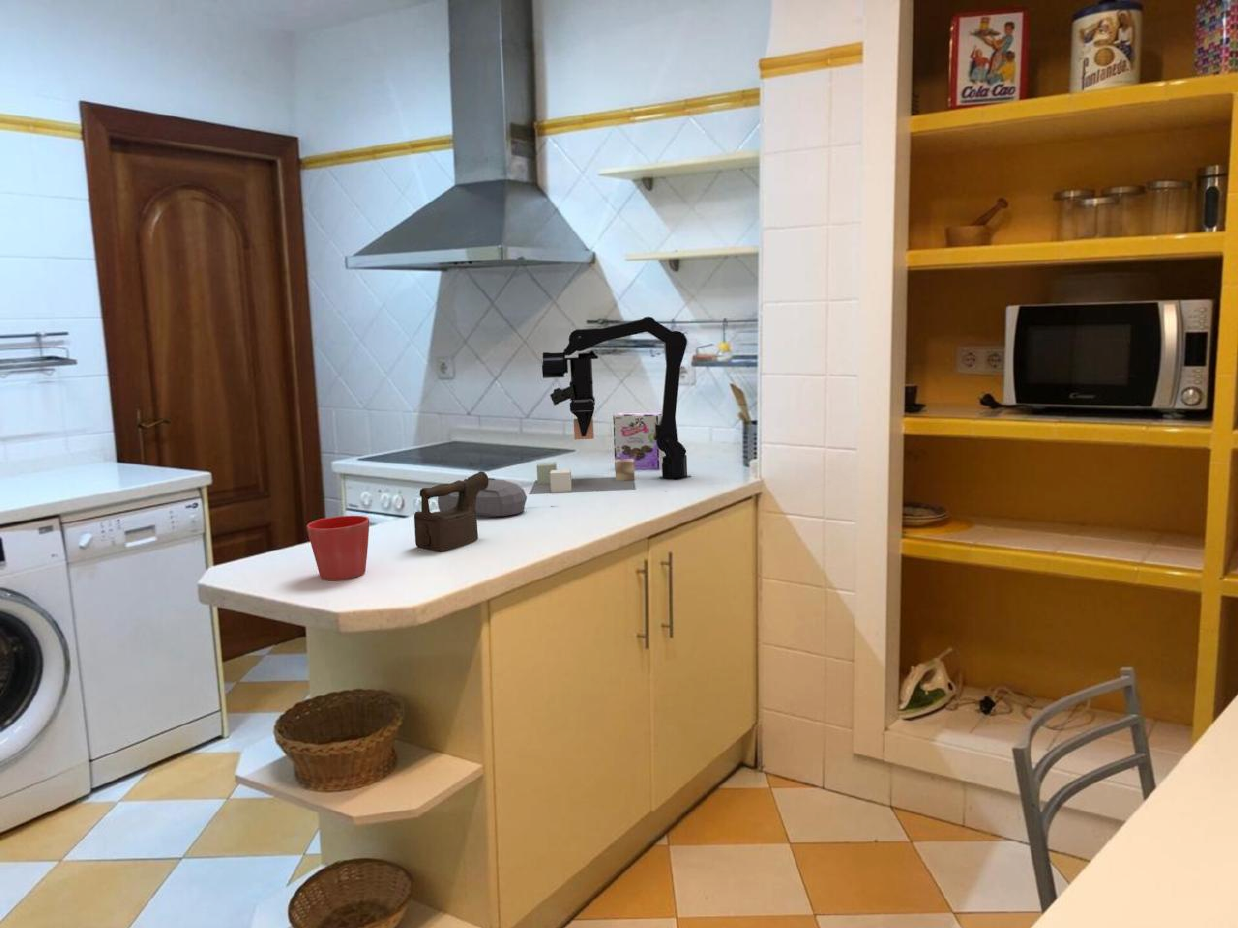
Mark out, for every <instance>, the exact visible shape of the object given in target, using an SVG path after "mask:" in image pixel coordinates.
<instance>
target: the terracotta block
mask: <svg viewBox="0 0 1238 928" xmlns="http://www.w3.org/2000/svg"><path fill="white" fill-rule="evenodd" d="M573 439H574V440H594V418H593V417H592V418H591V422H590V425H589V428H588V431H587V434H586V436H582V435H581V431H580V427H579V423H578V419H577V418H574V419H573Z"/></svg>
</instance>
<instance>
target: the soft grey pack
mask: <svg viewBox="0 0 1238 928" xmlns="http://www.w3.org/2000/svg"><path fill="white" fill-rule="evenodd" d="M467 479H468V478H464V479H463V481H464V482H465V481H466V480H467ZM488 480H489V482H488V487H487V488H486V489H485V490H480V491H479V492H478V494H477V496H476V502H475V511H476V517H489V518H496V517H497V518H498V517H507V516H508V517H509V516H513V515H516V514H520V513H522V512H523V511H524V510H525V507H526V502H527V498H528V496H527V493H526V492H525V490H524V489H523V488H522V487H521V486H520V485H518V484H517V483H514V482H510V481H507V480H504V479H498V478H497V479H496V478H491V477H488ZM458 497H459V492H453V493H450V494H448V495H445V496H439V497H437V505H438V509H439V511H445V510H450V509H452V508H454V507H455V506H456V504H457V501H458Z"/></svg>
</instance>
